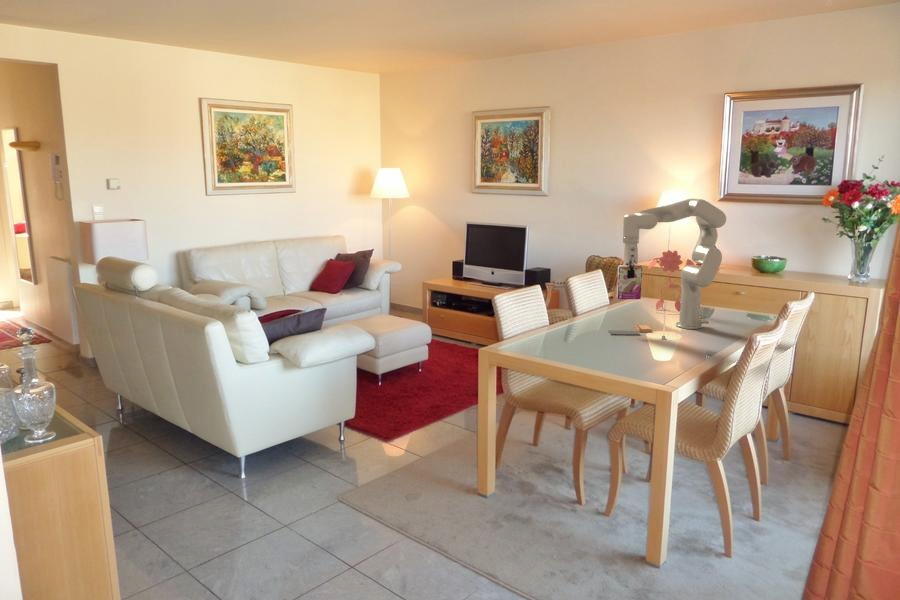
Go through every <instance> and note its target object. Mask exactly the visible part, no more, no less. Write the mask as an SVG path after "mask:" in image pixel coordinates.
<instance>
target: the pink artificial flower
mask: <svg viewBox="0 0 900 600" xmlns="http://www.w3.org/2000/svg"><path fill="white" fill-rule="evenodd" d="M661 254H662V256H661V257H659V259H658V258H656V259H653V260H652V261H651V262H650V263H649V265H648V268H647V269H648V270H650V269H651V268H653V267H654V266H655V265H656V264H657V263H658V265H659V267H660V268H661V270H663V272H667V271H670V272H669V273H668V281H669V283H668V285H666V286H663V287H661V289H660V299H658V300H657V302H655V303H656V304H655V309H656V310H658V309H660V308H661V309H663V308H664V307H663V306H664V303H665V300H664V299H663V298H662V292H663V291H662V289H664V288H667V287H668V288H669V289H670V288H674V289H676V290H678V291H679V294H678V298H677V300H676V301H675V302H674V308H675V310H676V311H677V312H678V313H679V314H671V313H670V314H669V313H668V315H670V316H671V315H672V316H680V305H681V300H680V298H681V292H682V290H680V289H679V288H677V287H675V286H674V284H673V283H672V282H671V277H670V274H672V273H674V272H675V271H678V272H681V271H682V269H680V266H681V265H682V264H683V260H681V255H679V254H678V250H673V251H671V250H669V249H668V250H667V251H662V253H661ZM658 260H659V261H658ZM688 265H695V262H694V261H693V260H692V259H689V258H687V260H686V263H685V265H684V267H686V266H688ZM651 307H653V306H651ZM655 313H656V314H658V312H657V311H656V312H655ZM660 314H663V313H662V312H660Z"/></svg>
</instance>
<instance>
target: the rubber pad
mask: <svg viewBox="0 0 900 600" xmlns="http://www.w3.org/2000/svg"><path fill="white" fill-rule="evenodd" d="M608 333H609V334H610V335H611V336H641V334H640V332H639V331H638V330H617V329H616V330H615V329H614V330H611V329H608Z"/></svg>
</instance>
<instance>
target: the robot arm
mask: <svg viewBox="0 0 900 600" xmlns="http://www.w3.org/2000/svg"><path fill="white" fill-rule="evenodd" d="M690 217H695V220H696V223H697V225H698V228H699V236H698V240H697V242H696V244H695V246H694V248H693V251H692V253H691V261H692V262H693V263H694V265H688V266H687V265H686V267H685V266H684V267H683V268H682V269H681V270H682V271H680V281H681V292H680V303H681V305H680V312H679V314H680V315H679V320H678V321H677V322H676V323H675V325H676V327H678V328H681V329H687V330H698V329H699V330H700V329H702V327H703V325H704V324H705V325H706V324H707V325H708V324H709V323H710V320H709V319H704V318H703V319H702V318H700V315H701V313H700V312H701V302H702V301H701V299H702V288H707V287H709V286H710V285H712V283H713V281H714V279H715V277H716V275H717V273H718V270H719V269H720V265H721V263H722V260H723V255H722V251H721V250H720V249H718V248H717V247H715V246H716V243H717V241H718V228H722V227H723V226H725V224H726V222H727V216H726V213H725V212H724V211H723V210H721V209H720V208H718V207H717V206H715V205H713V204H712V203H711V202H709V201H707V200H705V199H703V198H702V199H701V198H687V199H685V200H681V201H678V202H674V203H671V204H668V205H662V206H657V207H653V208H648V209H644V210H641V211H636V213H628V214H625V215H624V216H623V222H622V223H623V227H622V228H623V229H622V244H624V250H623V260H624V262H625V265H628V272H627V278H634V265H638V263H639V262H638V261H639V259H638V258H639V253H638V252H639V248H638V244H640V229H641V230H652V229H654V228H655V227H656V226H657V224H658V223H673V222H678V221H679V220H683V219H687V218H690ZM695 263H696V264H699V265H695Z"/></svg>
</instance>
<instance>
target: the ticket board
mask: <svg viewBox="0 0 900 600" xmlns="http://www.w3.org/2000/svg"><path fill="white" fill-rule="evenodd" d="M635 329H636V331H638V332H639V333H652V328H651V327H650V326H649V325H648V324H647V325H644V324H640V325H639V324H635Z"/></svg>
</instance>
